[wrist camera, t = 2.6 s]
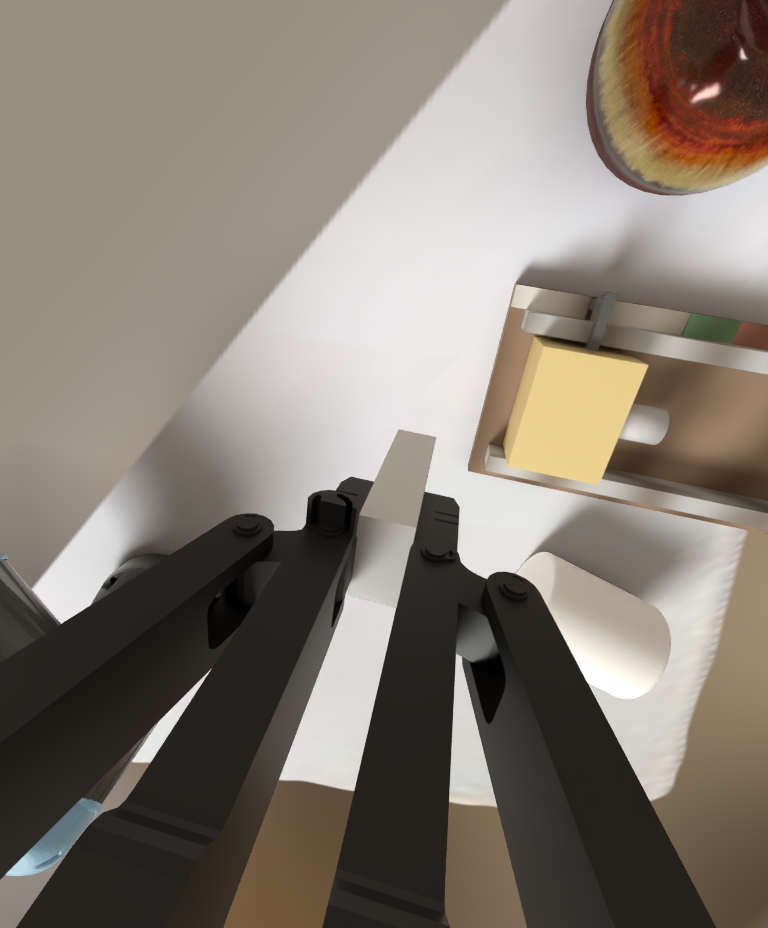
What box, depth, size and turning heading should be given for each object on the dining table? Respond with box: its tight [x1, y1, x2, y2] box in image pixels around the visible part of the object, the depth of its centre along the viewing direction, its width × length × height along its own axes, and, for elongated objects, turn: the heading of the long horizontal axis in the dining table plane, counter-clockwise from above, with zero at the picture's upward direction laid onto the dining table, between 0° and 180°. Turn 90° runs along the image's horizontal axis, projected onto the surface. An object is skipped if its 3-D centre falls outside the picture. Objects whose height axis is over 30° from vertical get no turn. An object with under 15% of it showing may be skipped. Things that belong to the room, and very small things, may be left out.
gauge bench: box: [468, 284, 768, 534], centre depth 28 cm, size 24×14×7 cm, turn 82°
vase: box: [586, 0, 768, 195], centre depth 17 cm, size 11×11×15 cm
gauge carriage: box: [503, 292, 669, 485], centre depth 28 cm, size 9×11×4 cm
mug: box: [516, 552, 671, 699], centre depth 36 cm, size 12×10×8 cm
